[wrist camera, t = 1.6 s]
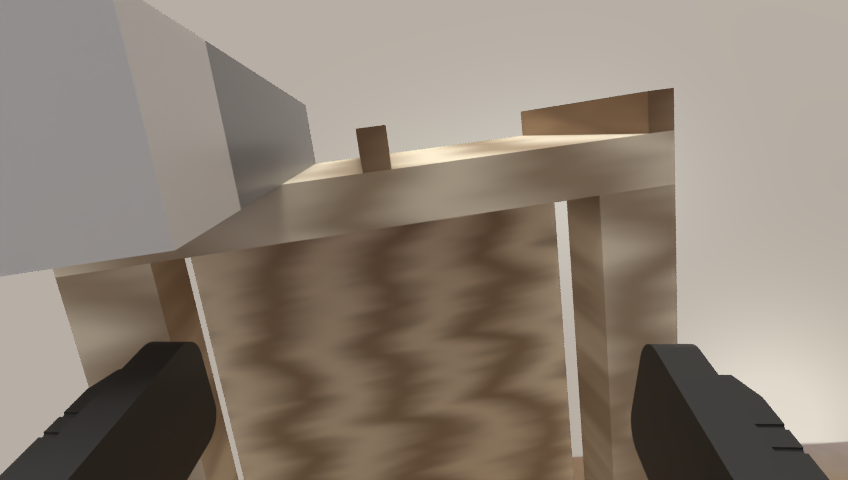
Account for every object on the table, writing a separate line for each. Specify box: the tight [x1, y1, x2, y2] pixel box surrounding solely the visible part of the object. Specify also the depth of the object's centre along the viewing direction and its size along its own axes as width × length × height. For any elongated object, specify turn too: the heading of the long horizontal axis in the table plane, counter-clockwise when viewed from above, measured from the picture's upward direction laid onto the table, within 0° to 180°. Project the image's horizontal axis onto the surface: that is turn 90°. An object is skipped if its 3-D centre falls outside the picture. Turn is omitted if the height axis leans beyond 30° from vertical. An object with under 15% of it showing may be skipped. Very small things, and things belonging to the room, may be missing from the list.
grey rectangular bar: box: [0, 0, 316, 276], centre depth 18 cm, size 4×24×4 cm, turn 8°
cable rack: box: [53, 88, 677, 480], centre depth 27 cm, size 22×14×34 cm, turn 98°
